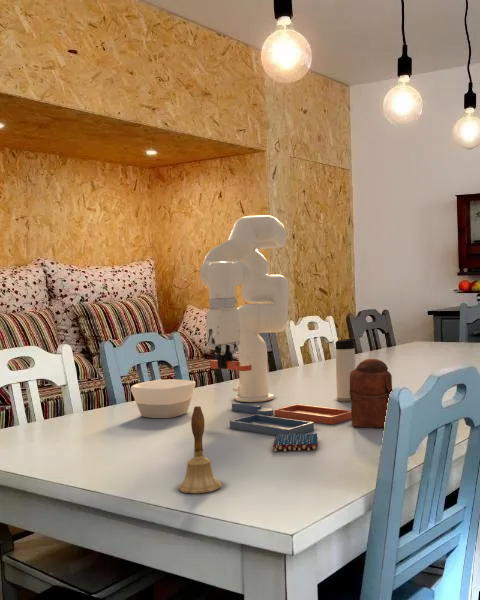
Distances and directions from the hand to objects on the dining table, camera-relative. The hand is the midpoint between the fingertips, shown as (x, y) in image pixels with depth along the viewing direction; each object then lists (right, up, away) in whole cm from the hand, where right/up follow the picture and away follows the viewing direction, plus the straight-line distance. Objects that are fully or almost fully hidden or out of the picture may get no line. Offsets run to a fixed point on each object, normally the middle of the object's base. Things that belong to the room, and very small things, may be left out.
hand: (225, 367), depth 209 cm
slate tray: (+14, -15, -16) cm, 26 cm away
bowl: (-19, -15, +10) cm, 27 cm away
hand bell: (+2, -18, -67) cm, 69 cm away
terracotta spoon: (+2, 0, -1) cm, 2 cm away
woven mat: (+21, -16, -36) cm, 44 cm away
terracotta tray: (+26, -14, -2) cm, 29 cm away
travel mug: (+37, -13, +24) cm, 46 cm away
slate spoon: (+7, -14, +8) cm, 18 cm away
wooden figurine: (+41, -14, -16) cm, 46 cm away
